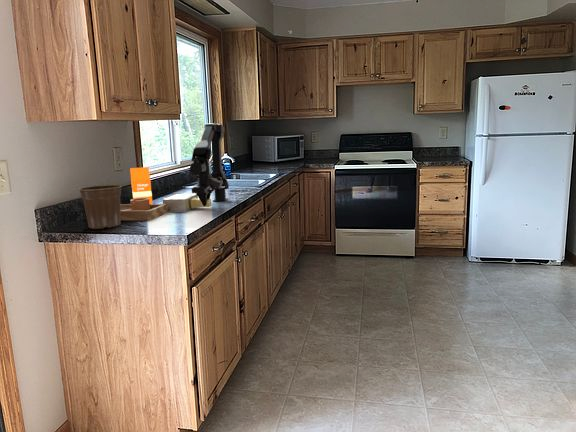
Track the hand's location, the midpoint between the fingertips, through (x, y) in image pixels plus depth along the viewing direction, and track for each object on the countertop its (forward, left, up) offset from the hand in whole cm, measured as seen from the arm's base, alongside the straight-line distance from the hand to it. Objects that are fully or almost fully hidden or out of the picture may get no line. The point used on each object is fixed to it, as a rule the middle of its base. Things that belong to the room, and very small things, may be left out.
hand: (206, 205), depth 215 cm
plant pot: (+38, -30, -2) cm, 48 cm away
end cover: (0, -6, -1) cm, 6 cm away
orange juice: (-4, -35, -2) cm, 35 cm away
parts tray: (+18, -29, -2) cm, 34 cm away
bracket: (+18, -29, -2) cm, 34 cm away
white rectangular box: (0, -13, -2) cm, 13 cm away
